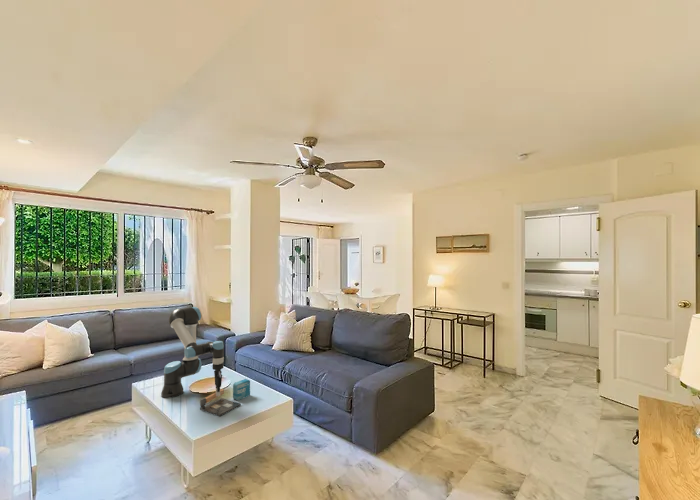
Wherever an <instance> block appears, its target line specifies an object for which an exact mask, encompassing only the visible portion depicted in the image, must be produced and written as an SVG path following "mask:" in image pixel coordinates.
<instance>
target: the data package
mask: <svg viewBox="0 0 700 500" xmlns="http://www.w3.org/2000/svg"><path fill="white" fill-rule="evenodd" d="M250 395H251V380H249V379H246V378H243V379H242V380H239V381H236V382H235V381H234V383H233V384H232V399H234V400H235V401H240V400H242V399H245V398H247V397H249V396H250Z"/></svg>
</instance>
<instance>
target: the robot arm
mask: <svg viewBox="0 0 700 500" xmlns="http://www.w3.org/2000/svg"><path fill="white" fill-rule="evenodd" d="M201 320H202V312H201V310H200V309H199V307H197V306H191V307H183V308H176V309H175V310H173V311H172V312H171V313H170V315H169V316H168V324H169V326H170V328H171V329H173V330H174V332H175V333H176V335H177V337H178V338H179V340H180V341H181V342H180V343H182V345H183V347H184V352H183V354H184V357H183V358H182V361H180V360H176V361H175V360H174V361H172V362H171V361H170V362H169V363H167V364H166V365H164V369H163V387H162V390H161V393H160V394H161V395H160V396H161V397H162V398H166V399H167V398H175V397H179V396H180V395H182V394H184V386H183V384H182V378H186V377H190V376H193V375H195V374H199V372H200V371H201V369H202V360H201V358H199V356H203V355H207V354H212V361H211V362H212V370H214V371H213V374H214V385H215V392H216V397H217V396H219V397H220V396H221V395H220V390H221V387H222V381H223V380H222V379H223V374H222V369H224V368H225V366H224V359H225V357H224V354H225V352H224V351H225V349H224V348H225V346H224V341H223V340H217V341H206V342H204V343H201V344H197V325H199V322H200V321H201ZM217 398H218V397H217Z"/></svg>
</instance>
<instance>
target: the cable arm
mask: <svg viewBox="0 0 700 500" xmlns="http://www.w3.org/2000/svg"><path fill="white" fill-rule="evenodd" d="M224 393H225V389H223V388H220V396H222V395H224ZM220 396H217V397H216V391H215V392H213V393H212V394H209V395H207V396H206V397H202V398H201V397H200V399H199V400H200V401H199V405H200V407H201V406H204V405H207V404H209V402H211V401H213V400H215V399H217V398H218V397H220Z"/></svg>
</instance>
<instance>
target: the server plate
mask: <svg viewBox="0 0 700 500" xmlns="http://www.w3.org/2000/svg"><path fill="white" fill-rule="evenodd" d="M241 406H242V404H241V403H239V402H235V401H233V400H230V399H225V398H223V397H221V398H219V399H217V400H214V401H212V402H210V403H207V404H206V405H204V406H200V408H199V410H200V411H201V412H202V411H203V412H206V413H208V414H210V415H211V414H212V415H214V416H217V417H221V416H224V415H225V414H227V413H230V412H231V411H233V410H235V409H236V408H239V407H241Z"/></svg>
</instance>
